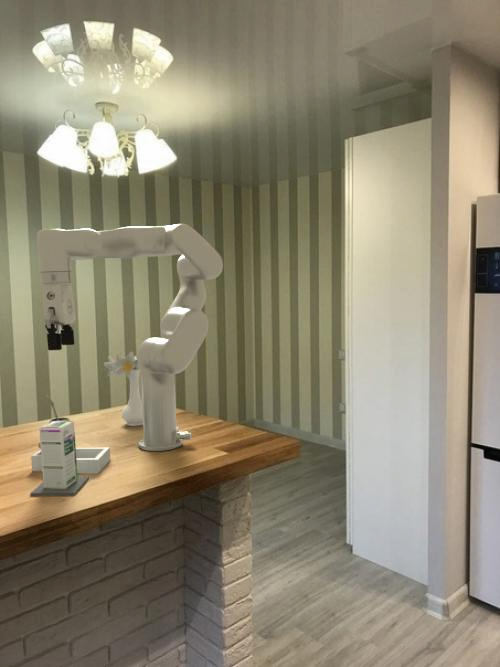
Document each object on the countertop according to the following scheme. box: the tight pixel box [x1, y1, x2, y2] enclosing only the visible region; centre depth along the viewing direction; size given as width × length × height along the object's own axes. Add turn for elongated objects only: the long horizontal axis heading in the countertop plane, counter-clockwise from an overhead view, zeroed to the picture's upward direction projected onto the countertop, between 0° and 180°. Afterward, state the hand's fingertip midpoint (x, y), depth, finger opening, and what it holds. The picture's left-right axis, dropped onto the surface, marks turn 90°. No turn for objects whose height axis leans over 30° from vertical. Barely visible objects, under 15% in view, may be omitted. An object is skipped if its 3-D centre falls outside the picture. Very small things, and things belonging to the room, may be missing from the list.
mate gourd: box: [44, 394, 71, 424], centre depth 154 cm, size 8×8×15 cm
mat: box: [29, 476, 90, 497], centre depth 123 cm, size 10×10×1 cm
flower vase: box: [103, 351, 143, 427], centre depth 177 cm, size 13×18×25 cm
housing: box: [30, 446, 111, 474], centre depth 136 cm, size 18×10×4 cm, turn 88°
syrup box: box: [38, 420, 79, 489], centre depth 122 cm, size 6×6×14 cm
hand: (61, 347), depth 133 cm, fingers open, 9 cm apart
